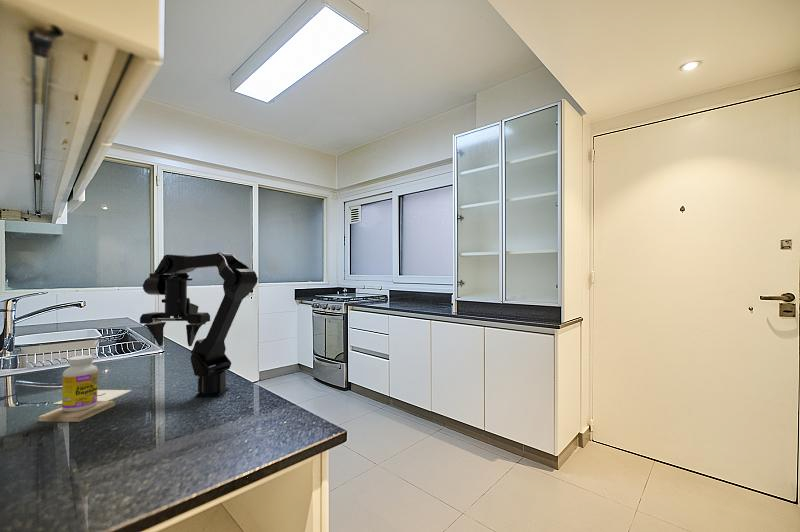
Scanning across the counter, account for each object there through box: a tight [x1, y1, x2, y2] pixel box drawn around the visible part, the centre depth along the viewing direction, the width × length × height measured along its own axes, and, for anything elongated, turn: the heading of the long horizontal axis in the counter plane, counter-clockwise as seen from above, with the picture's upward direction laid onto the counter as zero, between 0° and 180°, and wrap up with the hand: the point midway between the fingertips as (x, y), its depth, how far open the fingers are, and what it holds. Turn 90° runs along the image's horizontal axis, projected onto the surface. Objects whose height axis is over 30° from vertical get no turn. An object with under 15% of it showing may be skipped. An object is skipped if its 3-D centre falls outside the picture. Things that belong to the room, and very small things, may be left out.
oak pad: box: [38, 400, 116, 423], centre depth 89 cm, size 10×10×1 cm
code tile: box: [52, 389, 133, 405], centre depth 100 cm, size 13×11×1 cm
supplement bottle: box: [61, 354, 99, 412], centre depth 89 cm, size 7×7×13 cm
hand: (175, 345), depth 108 cm, fingers open, 9 cm apart
